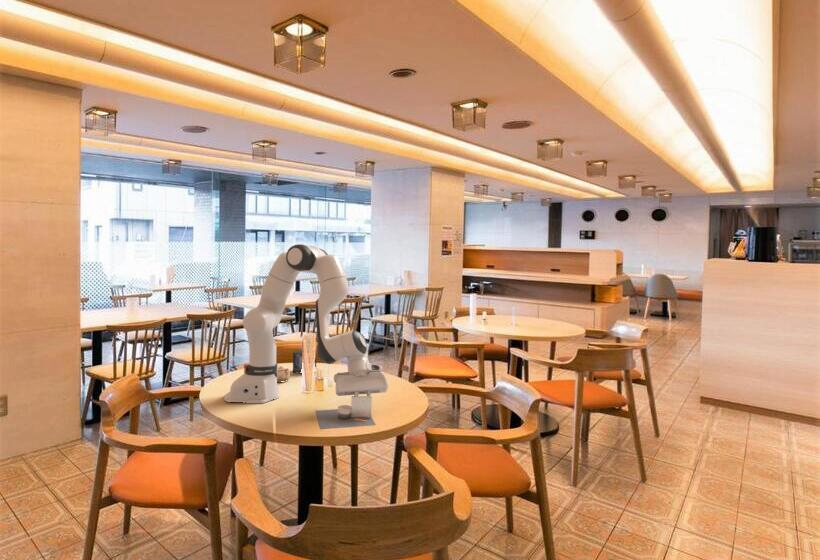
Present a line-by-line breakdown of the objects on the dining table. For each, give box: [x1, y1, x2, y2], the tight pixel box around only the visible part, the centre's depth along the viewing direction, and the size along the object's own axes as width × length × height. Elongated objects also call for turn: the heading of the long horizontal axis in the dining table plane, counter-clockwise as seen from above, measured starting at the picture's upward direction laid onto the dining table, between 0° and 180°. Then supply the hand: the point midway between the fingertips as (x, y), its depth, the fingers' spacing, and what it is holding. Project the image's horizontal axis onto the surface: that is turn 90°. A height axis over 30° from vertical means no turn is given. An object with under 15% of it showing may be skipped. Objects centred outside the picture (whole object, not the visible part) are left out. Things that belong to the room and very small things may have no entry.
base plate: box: [315, 408, 377, 430], centre depth 189 cm, size 20×20×1 cm
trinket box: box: [277, 363, 291, 382], centre depth 240 cm, size 13×15×8 cm
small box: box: [292, 349, 318, 374], centre depth 256 cm, size 11×6×10 cm, turn 70°
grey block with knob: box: [337, 395, 373, 419], centre depth 189 cm, size 12×5×8 cm, turn 92°
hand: (364, 403), depth 191 cm, fingers closed
